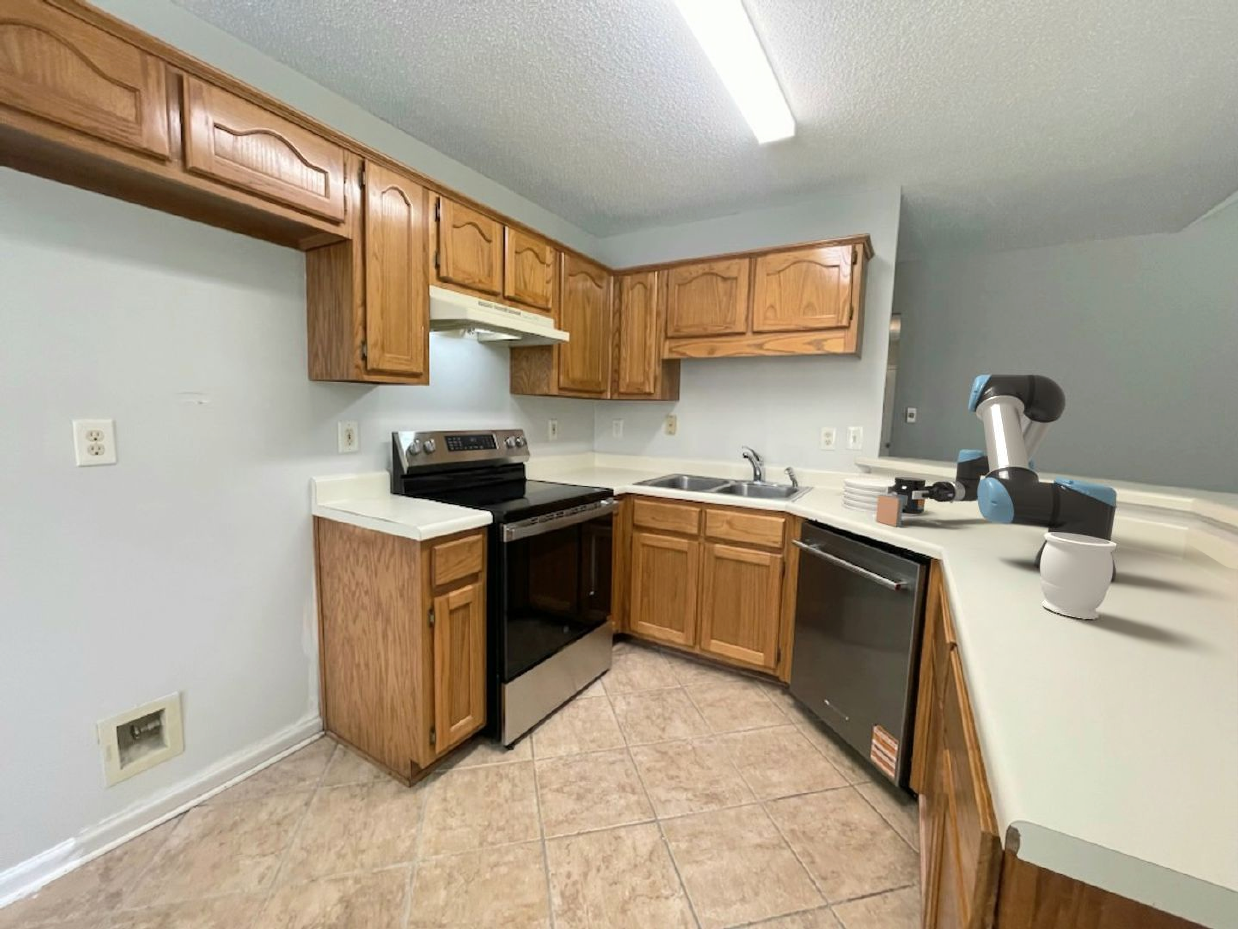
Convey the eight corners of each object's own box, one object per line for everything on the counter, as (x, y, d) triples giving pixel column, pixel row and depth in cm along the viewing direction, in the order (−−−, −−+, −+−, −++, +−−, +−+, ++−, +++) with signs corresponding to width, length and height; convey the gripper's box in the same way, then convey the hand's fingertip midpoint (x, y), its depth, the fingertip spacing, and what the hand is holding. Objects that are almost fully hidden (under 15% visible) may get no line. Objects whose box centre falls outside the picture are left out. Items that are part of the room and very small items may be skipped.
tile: (879, 521, 178) (882, 494, 177) (900, 527, 170) (903, 498, 169) (875, 521, 178) (878, 494, 177) (896, 527, 169) (898, 499, 168)
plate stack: (933, 518, 189) (936, 489, 188) (859, 515, 190) (862, 486, 189) (895, 504, 217) (897, 479, 215) (831, 502, 218) (833, 476, 216)
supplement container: (929, 513, 175) (932, 479, 173) (915, 515, 169) (918, 481, 168) (898, 507, 183) (902, 475, 182) (884, 510, 177) (887, 477, 176)
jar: (1113, 628, 90) (1125, 548, 88) (1040, 614, 95) (1050, 539, 94) (1096, 609, 99) (1106, 537, 97) (1030, 597, 104) (1039, 529, 103)
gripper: (976, 507, 170) (927, 509, 164) (918, 496, 192) (873, 497, 185) (978, 486, 169) (929, 487, 163) (920, 477, 191) (875, 477, 185)
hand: (899, 492), depth 174 cm, fingers closed on supplement container, 10 cm apart
